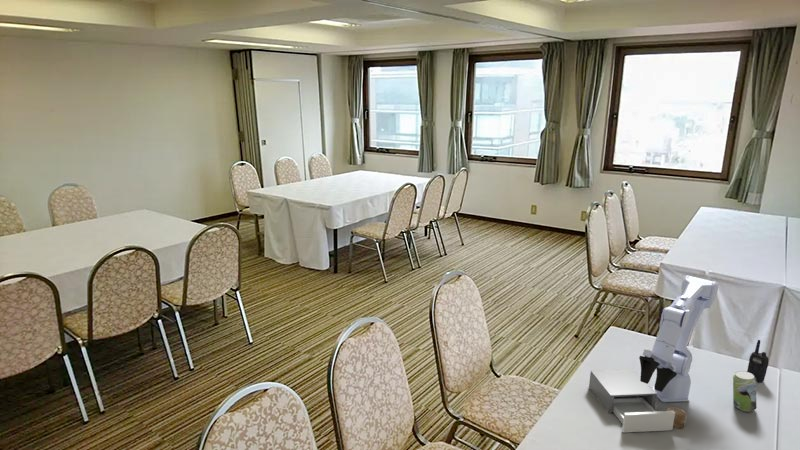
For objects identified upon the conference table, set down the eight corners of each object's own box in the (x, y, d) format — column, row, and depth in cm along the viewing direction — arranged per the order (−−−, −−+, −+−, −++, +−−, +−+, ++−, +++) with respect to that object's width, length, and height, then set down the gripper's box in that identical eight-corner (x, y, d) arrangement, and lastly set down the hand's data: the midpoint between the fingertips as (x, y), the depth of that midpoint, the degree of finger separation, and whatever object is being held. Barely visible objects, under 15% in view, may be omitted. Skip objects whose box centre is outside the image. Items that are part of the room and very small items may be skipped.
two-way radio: (743, 376, 170) (751, 338, 166) (750, 373, 172) (758, 335, 168) (761, 384, 166) (770, 345, 162) (767, 380, 168) (776, 342, 164)
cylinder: (677, 417, 149) (679, 406, 148) (688, 428, 144) (690, 417, 143) (662, 418, 149) (664, 407, 148) (672, 429, 144) (673, 418, 143)
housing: (631, 385, 165) (633, 368, 164) (654, 411, 152) (657, 393, 150) (588, 387, 165) (590, 370, 163) (608, 413, 151) (610, 395, 149)
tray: (646, 402, 156) (649, 386, 154) (672, 430, 143) (675, 412, 141) (602, 403, 155) (604, 387, 154) (623, 432, 142) (625, 415, 140)
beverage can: (759, 415, 150) (766, 381, 147) (733, 412, 151) (740, 378, 148) (749, 402, 156) (756, 370, 153) (724, 400, 157) (730, 367, 154)
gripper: (664, 339, 140) (649, 383, 138) (690, 356, 146) (676, 398, 144) (642, 333, 147) (628, 375, 144) (668, 350, 153) (654, 390, 150)
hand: (651, 386), depth 144 cm, fingers open, 7 cm apart
